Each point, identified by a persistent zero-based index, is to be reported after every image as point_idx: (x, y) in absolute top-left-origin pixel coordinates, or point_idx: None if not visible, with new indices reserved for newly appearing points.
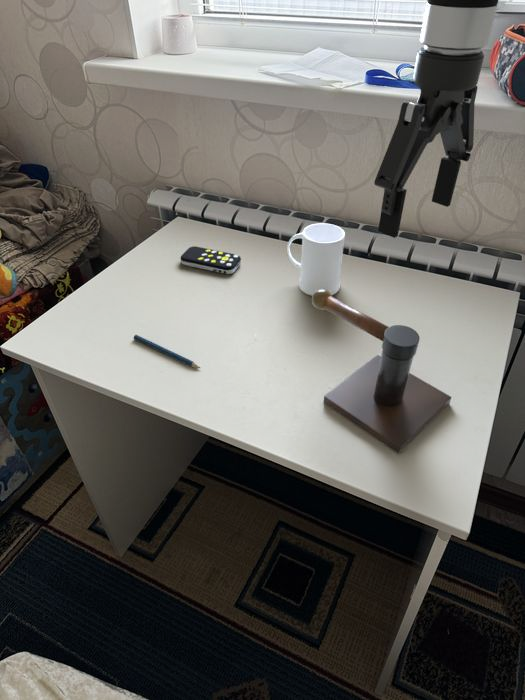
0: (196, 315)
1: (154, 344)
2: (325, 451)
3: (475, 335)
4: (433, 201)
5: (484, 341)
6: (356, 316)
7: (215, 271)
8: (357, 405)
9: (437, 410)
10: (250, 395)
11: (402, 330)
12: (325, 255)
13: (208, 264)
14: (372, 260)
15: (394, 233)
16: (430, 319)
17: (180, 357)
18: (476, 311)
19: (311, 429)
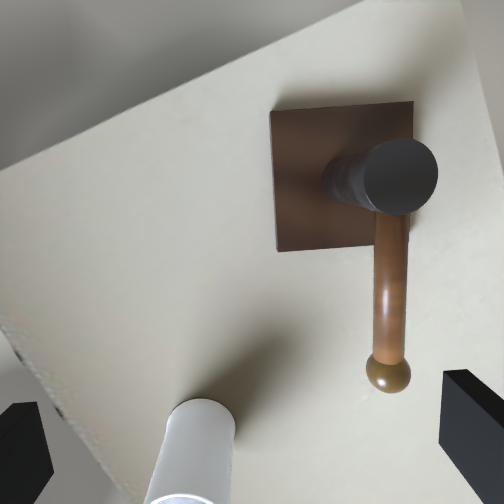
0: (394, 475)
1: None
2: (469, 176)
3: (94, 183)
4: (50, 466)
5: (95, 163)
6: (405, 285)
7: None
8: None
9: (312, 108)
10: (459, 312)
11: (385, 188)
12: (213, 473)
13: None
14: (71, 425)
15: (481, 384)
16: (122, 259)
17: None
18: (35, 221)
19: (451, 215)
